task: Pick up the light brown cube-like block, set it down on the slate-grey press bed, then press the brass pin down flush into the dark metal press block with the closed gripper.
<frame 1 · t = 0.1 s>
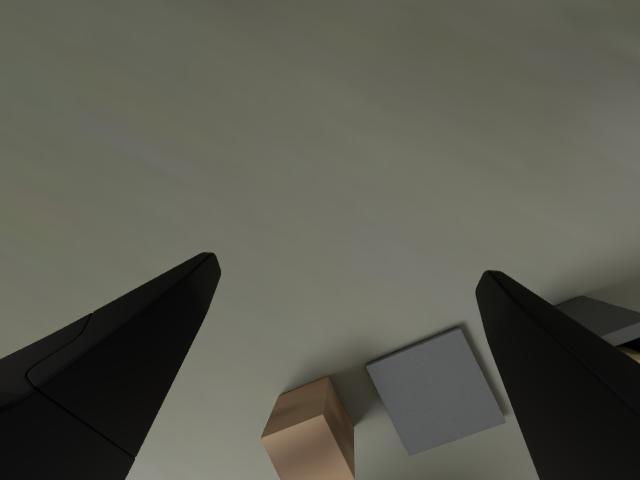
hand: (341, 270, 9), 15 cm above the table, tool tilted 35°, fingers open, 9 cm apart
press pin: (625, 376, 16), point 5 cm above the table, slide at 0.0 cm
press block: (561, 342, 21), on the table
light brown cube-like block: (315, 411, 24), on the table
press bed: (432, 390, 23), on the table
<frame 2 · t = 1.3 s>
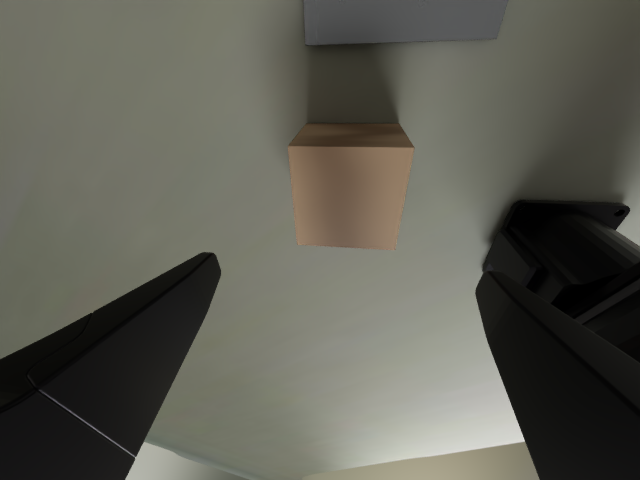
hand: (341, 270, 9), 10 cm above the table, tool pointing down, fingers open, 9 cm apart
light brown cube-like block: (349, 168, 17), on the table
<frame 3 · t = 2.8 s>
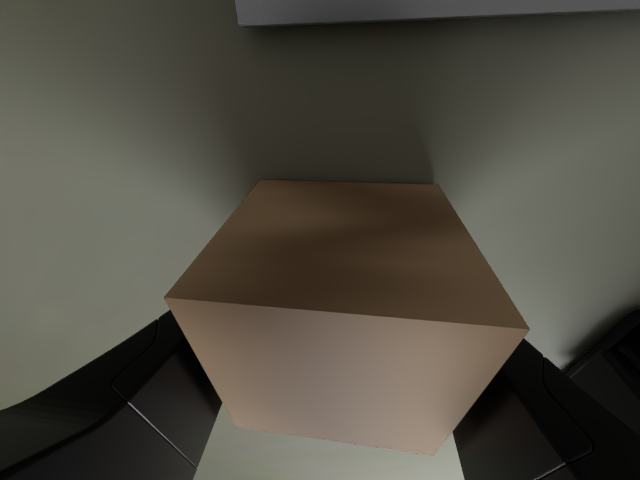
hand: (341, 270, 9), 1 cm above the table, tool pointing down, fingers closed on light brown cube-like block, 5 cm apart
light brown cube-like block: (342, 251, 9), on the table, touching gripper
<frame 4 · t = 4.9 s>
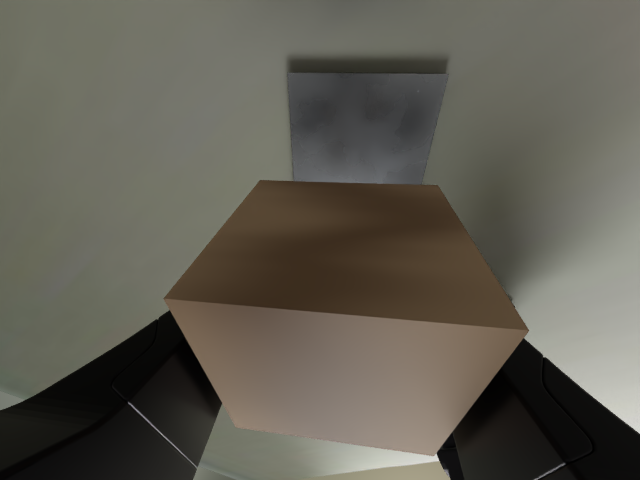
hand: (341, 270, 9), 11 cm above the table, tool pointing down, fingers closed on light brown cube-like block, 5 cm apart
light brown cube-like block: (342, 252, 9), point 10 cm above the table, touching gripper
press bed: (358, 152, 17), on the table
when the fingers open (3 cm above the table, at t = 7.0 s): light brown cube-like block drops 1 cm, resting on press bed.
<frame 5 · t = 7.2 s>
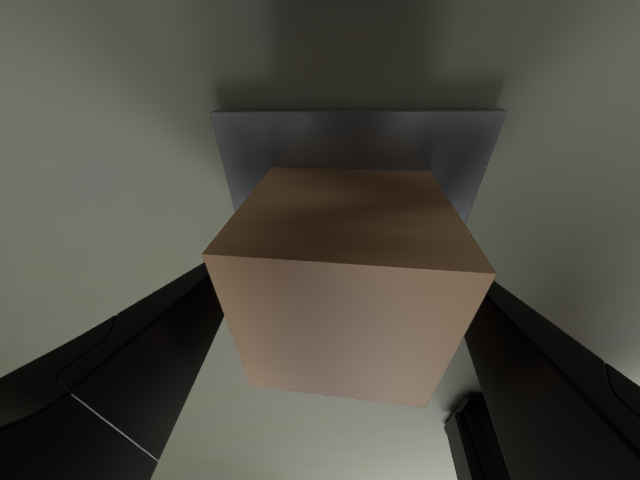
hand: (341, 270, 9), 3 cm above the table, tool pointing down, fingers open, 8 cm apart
light brown cube-like block: (345, 234, 10), resting on press bed
press bed: (344, 228, 11), on the table
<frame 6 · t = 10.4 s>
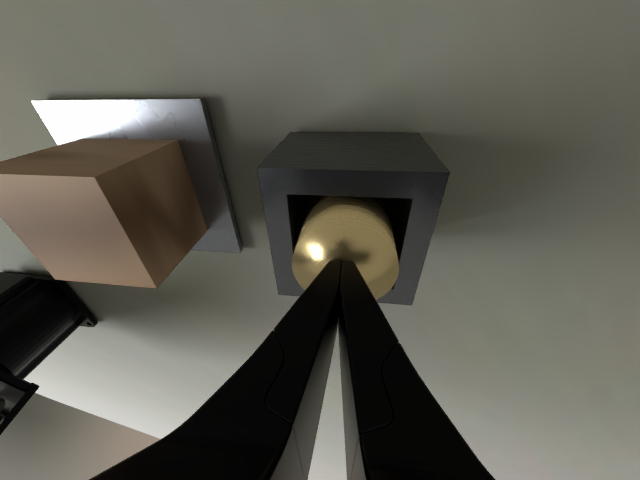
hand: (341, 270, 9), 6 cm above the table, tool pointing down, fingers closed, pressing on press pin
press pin: (346, 230, 11), point 4 cm above the table, slide at 1.2 cm, touching gripper
press block: (349, 191, 14), on the table
light brown cube-like block: (150, 188, 15), resting on press bed
press bed: (155, 185, 15), on the table
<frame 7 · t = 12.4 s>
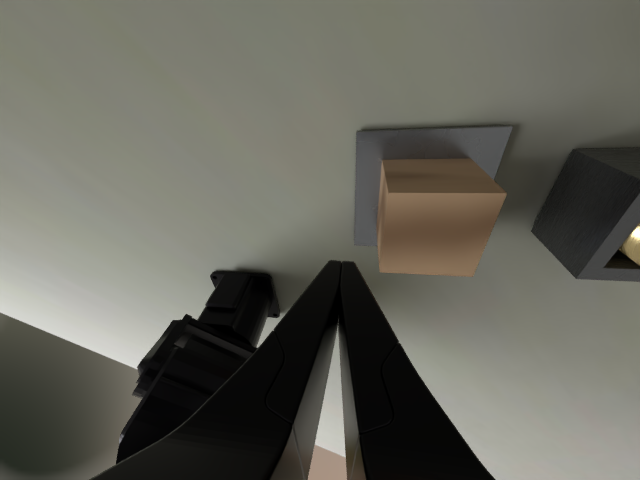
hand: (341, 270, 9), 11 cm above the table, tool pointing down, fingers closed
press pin: (637, 216, 14), point 3 cm above the table, slide at 2.2 cm
press block: (600, 194, 17), on the table
light brown cube-like block: (418, 197, 18), resting on press bed
press bed: (418, 194, 18), on the table
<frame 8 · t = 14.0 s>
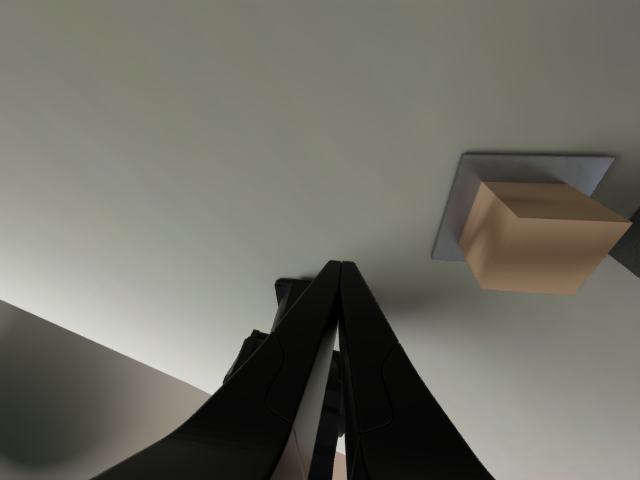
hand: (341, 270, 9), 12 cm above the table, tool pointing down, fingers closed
light brown cube-like block: (507, 217, 19), resting on press bed
press bed: (505, 214, 19), on the table
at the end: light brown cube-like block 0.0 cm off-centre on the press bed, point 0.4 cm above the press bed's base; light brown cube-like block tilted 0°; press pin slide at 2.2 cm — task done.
